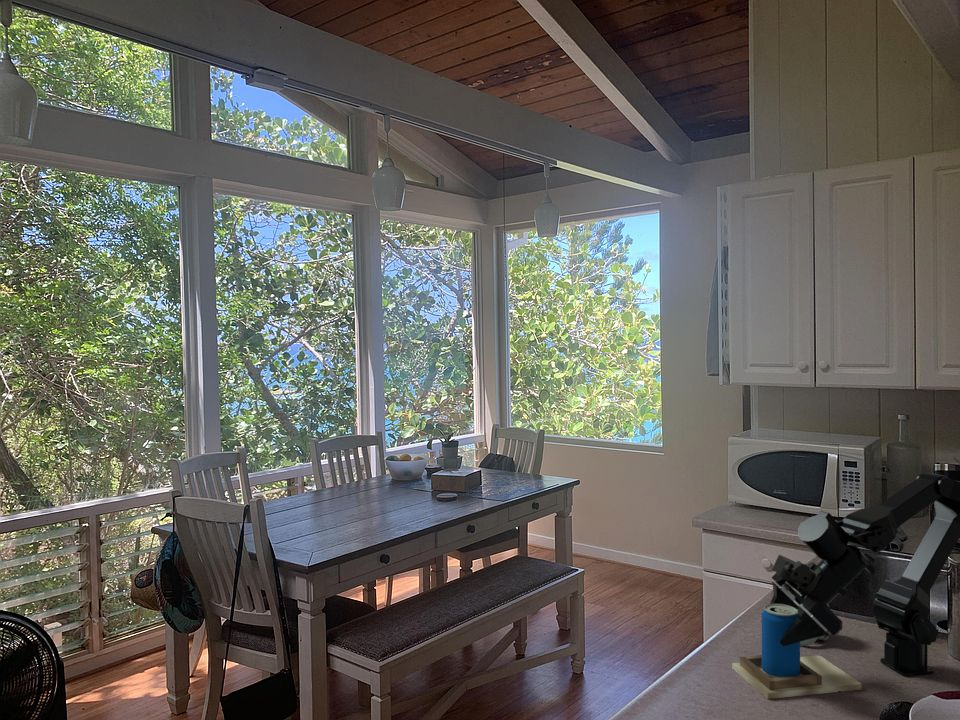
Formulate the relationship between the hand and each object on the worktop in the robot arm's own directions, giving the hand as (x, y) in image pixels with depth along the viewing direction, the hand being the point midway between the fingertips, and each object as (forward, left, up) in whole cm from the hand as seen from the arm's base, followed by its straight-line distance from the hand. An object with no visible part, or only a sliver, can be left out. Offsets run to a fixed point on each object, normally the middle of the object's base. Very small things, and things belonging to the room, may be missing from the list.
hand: (771, 633), depth 133 cm
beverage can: (-2, 0, -8) cm, 8 cm away
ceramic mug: (-18, -16, -9) cm, 26 cm away
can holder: (-4, 0, -9) cm, 10 cm away
